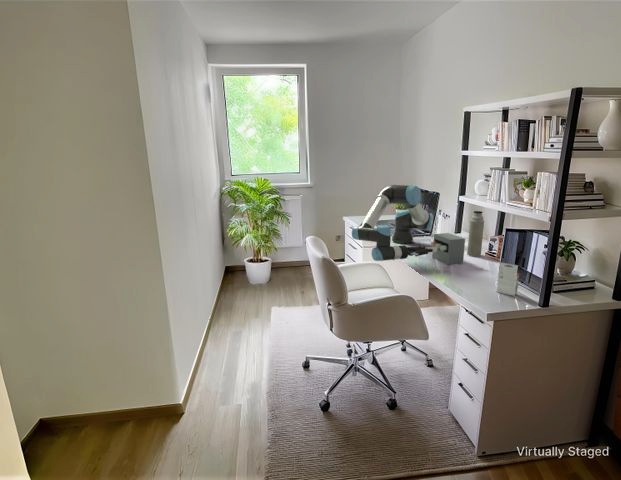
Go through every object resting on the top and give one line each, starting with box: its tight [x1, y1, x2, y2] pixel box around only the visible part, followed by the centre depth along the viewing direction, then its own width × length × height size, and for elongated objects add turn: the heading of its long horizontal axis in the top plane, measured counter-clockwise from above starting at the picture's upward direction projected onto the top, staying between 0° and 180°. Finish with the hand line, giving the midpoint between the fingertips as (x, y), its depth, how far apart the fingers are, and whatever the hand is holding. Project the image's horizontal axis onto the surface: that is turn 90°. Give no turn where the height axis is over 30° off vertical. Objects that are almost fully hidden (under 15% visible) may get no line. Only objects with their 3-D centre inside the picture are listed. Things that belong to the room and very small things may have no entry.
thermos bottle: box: [466, 210, 485, 258], centre depth 231 cm, size 8×8×28 cm
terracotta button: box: [430, 241, 440, 247], centre depth 224 cm, size 3×5×3 cm, turn 105°
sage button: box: [440, 245, 449, 251], centre depth 215 cm, size 3×5×3 cm, turn 105°
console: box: [431, 232, 466, 266], centre depth 221 cm, size 16×10×15 cm, turn 15°
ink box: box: [495, 261, 520, 297], centre depth 169 cm, size 4×8×15 cm, turn 47°
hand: (436, 249), depth 213 cm, fingers closed
